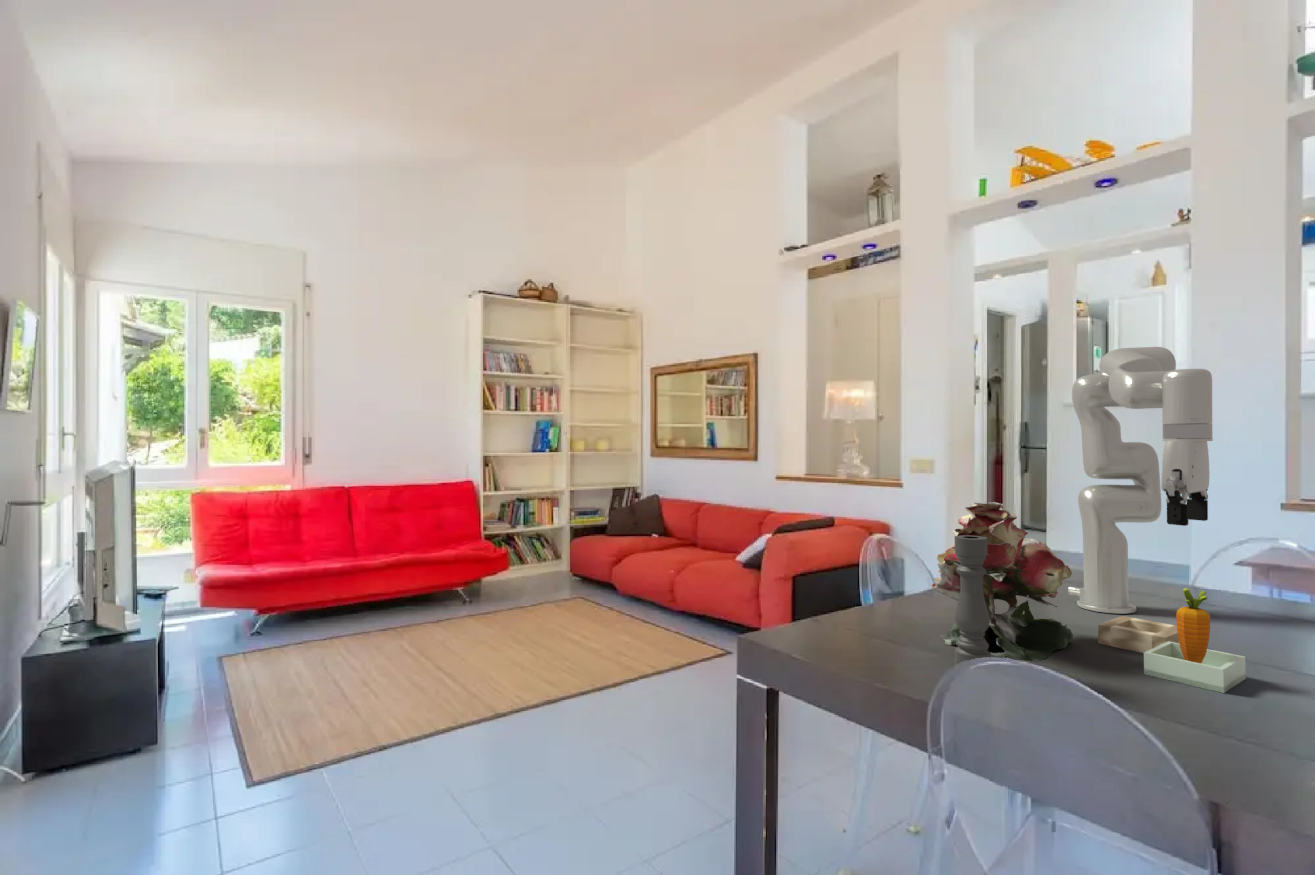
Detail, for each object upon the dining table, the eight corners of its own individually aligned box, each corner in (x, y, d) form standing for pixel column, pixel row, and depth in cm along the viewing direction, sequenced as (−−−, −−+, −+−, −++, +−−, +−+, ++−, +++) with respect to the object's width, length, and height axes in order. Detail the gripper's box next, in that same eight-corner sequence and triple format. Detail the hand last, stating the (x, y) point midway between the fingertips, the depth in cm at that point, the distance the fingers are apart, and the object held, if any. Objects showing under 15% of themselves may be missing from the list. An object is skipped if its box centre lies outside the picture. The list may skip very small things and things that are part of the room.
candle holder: (948, 663, 130) (946, 535, 130) (979, 662, 131) (977, 534, 131) (966, 674, 124) (964, 540, 124) (997, 673, 125) (995, 539, 125)
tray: (1144, 674, 123) (1143, 652, 123) (1168, 661, 130) (1168, 641, 130) (1223, 693, 114) (1223, 669, 114) (1245, 679, 120) (1245, 656, 120)
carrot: (1206, 668, 123) (1205, 586, 123) (1215, 676, 119) (1214, 592, 119) (1173, 664, 125) (1172, 584, 126) (1180, 672, 121) (1179, 589, 121)
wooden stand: (1098, 643, 142) (1098, 624, 142) (1122, 633, 149) (1122, 615, 149) (1165, 658, 132) (1165, 637, 132) (1188, 647, 139) (1188, 627, 139)
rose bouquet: (1083, 638, 146) (1081, 501, 146) (1030, 669, 127) (1028, 511, 127) (966, 616, 165) (964, 495, 165) (904, 640, 146) (902, 503, 146)
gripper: (1181, 432, 136) (1181, 516, 137) (1145, 434, 127) (1145, 524, 127) (1227, 432, 130) (1228, 520, 130) (1193, 434, 120) (1194, 529, 121)
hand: (1187, 522), depth 129 cm, fingers open, 9 cm apart
